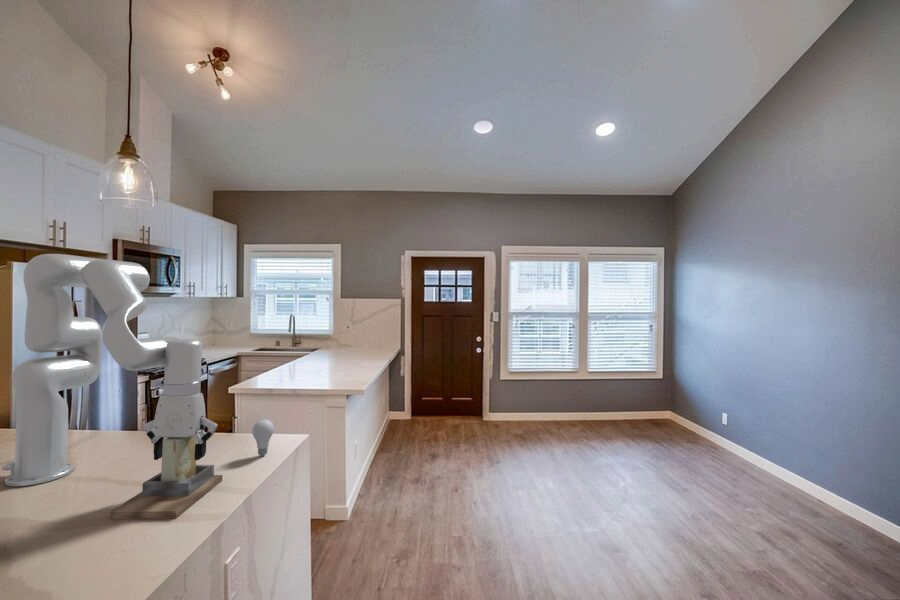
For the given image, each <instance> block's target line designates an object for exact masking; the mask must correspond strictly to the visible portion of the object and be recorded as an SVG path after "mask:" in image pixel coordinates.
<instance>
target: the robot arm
mask: <svg viewBox="0 0 900 600" xmlns="http://www.w3.org/2000/svg"><path fill="white" fill-rule="evenodd" d="M23 270H24V271H23V276H22V277H23V279H22V280H23V285H24V289H25V293H26V298H27V300H26V301H27V302H26V303H27V304H26V312H25V313H26V314H25V324H24V345H25V348H26V349H28V351H31V352H33V353H40V354H41V353H42V354H43V353H57V352H69V354H67V355H54V356H46V357H38V358H33V359H29V360H26V361H23V362H21V363H20V364H18V365H17V366H16V367H15V368H14V369H13V371H12V374H11V382H12V386H13V387H12V388H13V391H14V396H15V403H16V404H15V405H16V408H15V409H16V411H15V413H16V416H15V418H16V419H15V420H16V421H15V422H16V424H15V451H14V459H9V460H8V461H7V463H6V464H4V465H2V466H1V471H10V474H9V475H7V477H6V478H5V479H4V484H5V485H6V486H8V487H26V486H33V485H38V484H39V485H40V484H44V483H47V482H50V481H54V480H57V479H60V478H62V477H65V476H67V475H69V474H71V473H72V472H73V471H74V470H75V464H74V463H72V462H67V455H68V454H67V453H68V433H69V432H68V428H69V426H68V424H69V406H68V403H67V401H66V400H65V399H64V397H63V396H61V394H60V393H59V392H60V391H64V390H71V389H76V388H81V387H86V386H89V385H91V384H93V383H94V382H95V381H96V380H97V379H98V377H99V374H100V370H101V365H102V364H101V363H102V353H103V352H102V351H103V344H104V347H105V348H106V350H107V351H108V352H109V354H110V356H111V357H112V358H113V360H114V361H115V362H116V363H117V365H119V366H120V367H121V368H122V369H124V370H127V371H135V372H136V371H143V370H148V369H155V368H163V367H164V379H163V383H161V384H160V385H159V390H162V391H163V394H161V395H160V396H159V397H158V402H157V405H156V409H155V415H154V419H153V420H150V421H148V422H146V423H145V424H143V428H144V430H145V432H146V435H147V437H148V439H150V443H151V444H153V460H154V461H157V460H160V459H162V449H163V440H164V439H167V438H189V437H193V438H194V439H195V440H196V441H197V444H196V445H195V458H194V459H195V460H196V461H199V460H201V459H202V458H204V457H205V456H206V454H207V441H209V439H210V438H211V437H212V436H214V434H215V432H216V430H217V429H218V426H219V424H218V423H216V422H214V421H213V420H211V419H208V418H207V417H206V416H207V415H206V403H205V398H204V394H203V393H202V392H201V388H202V387H201V383H202V382H201V381H202V358H203V357H202V356H203V355H202V354H203V353H202V352H203V351H202V350H203V344H202V342H201V341H200V340H199V339H194V338H190V339H189V338H183V339H182V338H179V337H173V336H162V337H161V336H159V337H147V338H146V337H145V338H137V337H136V336H135V335H134V333H133V332H132V331H131V329H130V327H129V325H128V321H131V320H133V319H135V318H136V317H138V316H140V315H141V314H142V313H144V312H145V310H146V309H147V307H148V302H147V299H145V297H144V296H143V294H142V293H141V292H143V291H145V290H146V289H147V288H149V286H150V281H151V278H150V277H151V276H150V274H149V272H148V270H147V269H146V268H145V267H144V266H143V265H142V264H140V263H137V262H132V261H124V260H123V261H122V260H114V259H104V258H96V257H87V256H79V255H72V254H64V253H63V254H62V253H44V254H40V255H36V256H33V258H31V259H30V260H29V261H28V262H27V263H26V265H25V267H24V269H23ZM65 287H71V288H72V287H73V288H86V289H87V288H88V289H89V291H90V292H91V294H92V295H93V296H94V298H95V300H96V301H97V303H98V304H99V305H100V307H101V309H103V311H104V312H105V313H106V316H107V317H106V319H105V321H104V323H103V327H102V326H101V324H100V323H99V322H98V321H97V320H96V319H94V318H91V317H87V316H73V306H74V303H73V300H72V297H71V295H70V294H69V293H68V291H67V290H66V289H65ZM206 427H207V429H208V430H207V432H206V431H205V429H206Z"/></svg>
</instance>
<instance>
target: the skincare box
mask: <svg viewBox="0 0 900 600" xmlns="http://www.w3.org/2000/svg"><path fill="white" fill-rule="evenodd" d="M196 444H197V441H196V440H195V439H194V438H193V437H189V438H167V437H166V438H164V440H163V449H162V457H161V471H160V473H161V481H188V480H189V479H191V478H192V477H194V476H195V475H196V465H197V460H195V459H194V458H195V445H196Z"/></svg>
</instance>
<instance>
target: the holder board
mask: <svg viewBox="0 0 900 600" xmlns="http://www.w3.org/2000/svg"><path fill="white" fill-rule="evenodd" d="M222 482H223V474H215V464H196V475H195V476H194V477H192V478H191V479H189V480H188V481H161V472H159V473H157V474H155V475H154V476H153V477H150V478H149V479H147V480H145V481H144V482H143V483H142V490H141V492H139V493H137V494H136V495H134V496H133V497H131V498H130V499H128V500H127V501H124V502H123V503H121V504H120V505H119V506H116V508H114V509H112V510H110V511H109V519H114V520H117V519H119V520H121V519H122V520H123V519H130V520H131V519H136V520H137V519H177V518H179V517H180V516H181V515H182V514H184V513H185V512H186V511H187V510H188V509H190V508H191V507H192V506H193V505H195V504H196V503H197V502H198V501H199V500H201V499H202V498H203V497H204V496H205V495H207V494H208V493H209V492H211V491H212V490H213V489H214V488H216V486H218V485H219V484H220V483H222Z"/></svg>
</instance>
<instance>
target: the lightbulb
mask: <svg viewBox="0 0 900 600" xmlns="http://www.w3.org/2000/svg"><path fill="white" fill-rule="evenodd" d="M274 426H275V425H274V423H273V422H272V421H271V420H269V419H260V420H259V421H257V422H256V423H255V424H254V425H253V427H252V428H251V431H252V432H251V433H252V436H253V438H254V439H255V440H254V441H256V448H257V455H259V456H261V457H264V456H265V455H267V453H268V448H269V445H270V440H271V438H272V436H273V434H274V432H275V427H274Z"/></svg>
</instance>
